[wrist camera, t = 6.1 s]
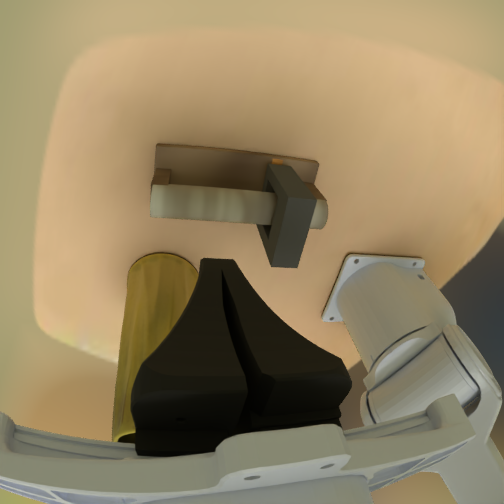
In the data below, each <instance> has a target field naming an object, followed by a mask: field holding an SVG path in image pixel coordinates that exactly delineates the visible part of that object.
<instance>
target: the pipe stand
mask: <svg viewBox="0 0 504 504" xmlns="http://www.w3.org/2000/svg"><path fill="white" fill-rule="evenodd" d="M268 163H269V164H277V165H284V166H291V167H292V168H293V169H294V171H295V172H296V173H297V175H298V176H299V177H300V178H301V180H302V181H303V182H304V183H305V185H306V186H307V187H308V189H309V190H310V191H311V193H312V194H313V195H314V197H315V198H316V199H317V203H316V207H315V210H314V214H313V217H312V221H311V224H310V227H309V228H311V229H322V228H323V227H324V226H325V224H326V222H327V218H328V205H327V202H326V201H327V200H326V199H325V198H324V196H323V195H322V194H321V193H320V191H319V190H318V189H317V188H316V186H315V185H314V182H315V178H316V174H317V171H318V167H319V163H318V162H317V161H313V160H306V159H300V158H293V157H287V156H280V155H272V154H265V153H257V152H249V151H240V150H231V149H221V148H210V147H199V146H186V145H171V144H157V145H156V155H155V171H154V177H153V180H152V183H151V200H150V216H151V217H155V218H173V219H190V220H205V221H220V222H235V223H249V224H262V225H272V222H273V218H274V213H275V209H276V205H277V200H278V197H277V195H276V193H270V192H262V189H263V184H264V179H265V174H266V169H267V164H268Z"/></svg>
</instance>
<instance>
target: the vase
mask: <svg viewBox="0 0 504 504" xmlns="http://www.w3.org/2000/svg"><path fill="white" fill-rule="evenodd" d="M198 276H199V275H198V273H197V271H196V270H195V268H194V267H193V266H192V265H191V264H190V263H189V262H187V261H186V260H184V259H183V258H180V257H178V256H175V255H171V254H163V253H159V254H152V255H148V256H145V257H143V258H141V259H140V260H138V261H137V262H136V263H135V264H134V265H133V266H132V267H131V268H130V270H129V273H128V278H127V297H126V303H125V311H124V319H123V325H122V332H121V341H120V350H119V361H118V371H117V378H116V386H115V398H114V411H113V426H112V442H119V443H131V444H135V425H134V421H133V418H132V414H131V411H130V403H131V391H132V387H133V384H134V381H135V378H136V375H137V373H138V371H139V368H140V366H141V364H142V362H143V361H144V360H145V359H146V358H147V357H148V356H149V355H150V354H151V353H152V352H153V351H154V350H155V349H156V348H157V347H158V346H159V345H160V344H161V342H162V341H163V340H164V339H165V338H166V336H167V335H168V334H169V333H170V331H171V330H172V328H173V327H174V325H175V324H176V322H177V321H178V319H179V318H180V316H181V314H182V313H183V311H184V309H185V307H186V305H187V303H188V301H189V299H190V297H191V295H192V293H193V290H194V288H195V285H196V282H197V279H198Z"/></svg>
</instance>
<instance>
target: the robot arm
mask: <svg viewBox="0 0 504 504" xmlns="http://www.w3.org/2000/svg"><path fill="white" fill-rule="evenodd" d="M356 259H357V260H356ZM355 260H356V261H355ZM424 265H425V261H424V259H422V258H408V257H392V256H375V255H359V254H350V255H348V256H347V257H346V259H345V261H344V264H343V266H342V269H341V271H340V274H339V276H338V279H337V281H336V284H335V286H334V289H333V291H332V293H331V296H330V298H329V301H328V303H327V305H326V308H325V310H324V312H323V315H322V320H323V321H324V322H336V321H344V323H345V325H346V327H347V329H348V331H349V333H350V335H351V337H352V340H353V342H354V344H355V346H356V348H357V350H358V352H359V354H360V356H361V359H362V361H363V363H364V365H365V367H366V369H367V371H368V373H369V374H368V375H367V376H366V377H365V378H364V379H363V381H364V384H365V386H366V388H367V391H365V392H364V393H363V394H362V396H361V407H360V412H361V417H362V420H363V423H364V425H365V426H364V427H360V428H355V429H350V430H345V431H343V429H342V426H341V424H340V421H339V418H340V417H341V412H340V409H339V405H340V404H341V403H342V401H343V400H344V399H345V397H346V396H347V395H348V393H349V391H350V389H351V387H352V381H351V378H350V376H349V373H348V371H347V369H346V367H345V365H344V363H343V361H342V359H341V358H339V357H337V356H335V355H333V354H331V353H329V352H327V351H325V350H324V349H322V348H320V347H318V346H317V345H315V344H313V343H312V342H310V341H309V340H307V339H306V338H304V337H303V336H301V335H300V334H299V333H297V332H296V331H295V330H294V329H292V328H291V327H290V326H288V325H287V324H286V323H285V322H284V321H283V320H282V319H280V318H279V317H278V316H277V315H276V314H275V313H274V312H273V311H272V310H271V309H270V308H269V307H268V306H267V304H266V303H265V302H264V301H263V300H262V299H261V297H260V296H259V295H258V294H257V292H256V291H255V290H254V289H253V287H252V286H251V285H250V283H249V282H248V280H247V279H246V278H245V276H244V275H243V273H242V272H241V270H240V268H239V267H238V265H237V264H236V262H235V261H234V260H233V259H214V258H203V259H201V261H200V271H199V276H198V279H197V282H196V285H195V288H194V290H193V293H192V295H191V297H190V299H189V301H188V303H187V305H186V307H185V309H184V311H183V313H182V314H181V316H180V318H179V319H178V321H177V322H176V324H175V325H174V327H173V328H172V330H171V331H170V333H169V334H168V335H167V336H166V338H165V339H164V340H163V341H162V342H161V344H160V345H159V346H158V347H157V348H156V349H155V350H154V351H153V352H152V353H151V354H150V355H149V356H148V357H147V358H146V359H145V360H144V361H143V362H142V364H141V366H140V368H139V371H138V373H137V375H136V378H135V381H134V384H133V387H132V391H131V403H130V411H131V414H132V418H133V421H134V425H135V444H131V443H119V442H109V441H101V440H93V439H86V438H79V437H72V436H67V435H61V434H56V433H51V432H45V431H41V430H36V429H32V428H28V427H24V426H20V425H15V424H14V422H13V420H12V419H11V418H10V417H9V416H8V415H6V414H5V413H2V412H0V488H1V489H4V490H6V491H9V492H12V493H15V494H18V495H22V496H24V497H28V498H31V499H34V500H38V501H41V502H44V503H47V504H374V502H373V499H372V497H371V493H370V492H372V491H375V490H377V489H380V488H383V487H385V486H388V485H390V484H393V483H395V482H398V481H400V480H402V479H404V478H407V477H409V476H411V475H414V474H416V473H418V472H420V471H425V472H436V473H439V474H440V476H441V477H442V479H443V481H444V482H445V484H446V486H447V487H448V489H449V491H450V492H451V494H452V495H453V497H454V499H455V500H456V502H457V504H504V460H503V458H502V456H501V454H500V453H499V451H498V449H497V448H496V446H495V444H494V443H493V441H492V439H491V438H490V436H489V435H490V432H491V430H492V428H493V425H494V423H495V420H496V418H497V415H498V413H499V410H500V407H501V404H502V397H501V393H502V392H501V389H500V387H499V385H498V383H497V381H496V380H495V378H494V377H493V374H492V372H491V370H490V368H489V366H488V365H487V363H486V361H485V360H484V358H483V357H482V355H481V354H480V352H479V351H478V350H477V348H476V347H475V345H474V344H473V343H472V341H471V340H470V339H469V337H468V336H467V335H466V334H465V333H464V331H462V329H461V328H460V327H459V326H457V325H456V318H455V314H454V311H453V308H452V306H451V305H450V304H449V302H448V301H447V300H446V298H445V297H444V296H443V294H442V293H441V292H440V291H439V289H438V288H437V287H436V285H435V284H434V283H433V282H432V281H431V279H430V278H429V277H428V276H427V274H426V273H425V272H424V271H423V270H422V269H423V267H424ZM476 397H478V398H477V399H476V400H475V401H474V402H473V403H472V404H470V405H469V406H468V407H466V408H465V409H464V410H463V408H464V407H465V406H466V405H468V404H469V403H470V402H472V401H473V400H474V399H475V398H476Z"/></svg>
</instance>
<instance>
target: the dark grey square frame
mask: <svg viewBox="0 0 504 504" xmlns="http://www.w3.org/2000/svg"><path fill="white" fill-rule="evenodd" d="M262 192H270V193H276V195H277V197H278V200H277V205H276V209H275V213H274V218H273V222H272V225H262V224H256V225H257V228H258V231H259V233H260V236H261V239H262V242H263V245H264V248H265V251H266V254H267V257H268V259H269V262H270V265H271V267H283V268H297V267H298V264H299V261H300V257H301V254H302V251H303V248H304V244H305V241H306V238H307V234H308V231H309V227H310V224H311V221H312V217H313V214H314V210H315V207H316V203H317V199H316V198H315V197H314V195H313V194H312V193H311V191H310V190H309V189H308V187H307V186H306V185H305V183H304V182H303V181H302V180H301V178H300V177H299V176H298V175H297V173H296V172H295V171H294V169H293V168H292V167H291V166H284V165H277V164H269V163H268V164H267V169H266V174H265V179H264V184H263V189H262Z"/></svg>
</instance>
